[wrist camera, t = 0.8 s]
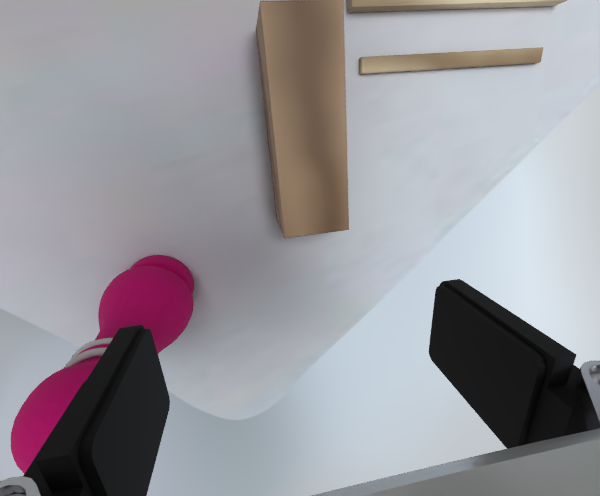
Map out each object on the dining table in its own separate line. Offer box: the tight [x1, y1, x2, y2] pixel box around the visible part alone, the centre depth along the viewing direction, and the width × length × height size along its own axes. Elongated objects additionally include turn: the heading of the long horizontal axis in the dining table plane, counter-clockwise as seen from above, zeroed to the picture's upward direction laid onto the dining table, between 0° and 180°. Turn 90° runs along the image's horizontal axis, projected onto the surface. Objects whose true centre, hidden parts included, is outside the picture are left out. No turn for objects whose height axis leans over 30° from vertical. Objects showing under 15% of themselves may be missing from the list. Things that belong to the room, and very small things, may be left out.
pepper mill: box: [11, 255, 194, 474], centre depth 21 cm, size 7×7×20 cm
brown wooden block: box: [256, 0, 349, 238], centre depth 25 cm, size 6×16×6 cm, turn 5°
